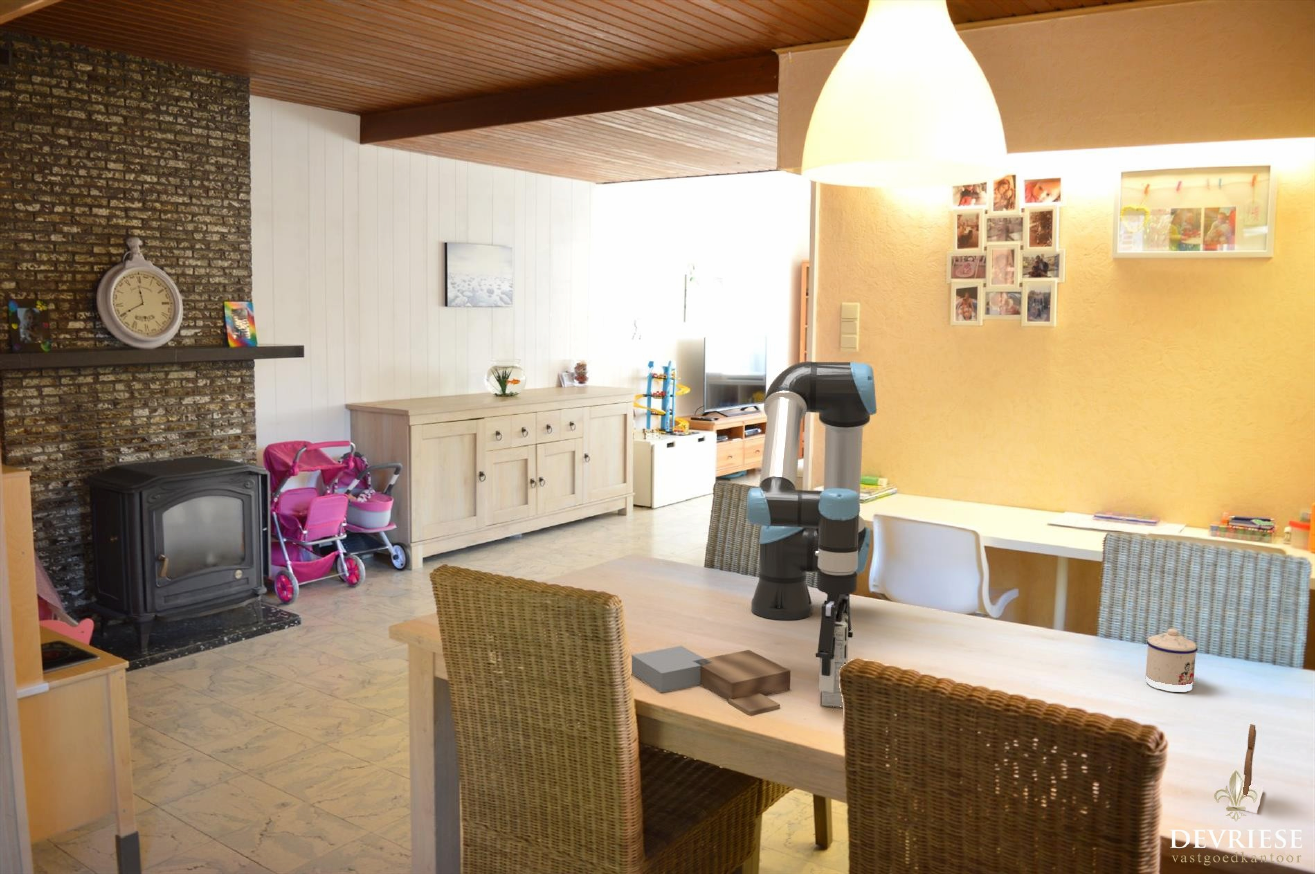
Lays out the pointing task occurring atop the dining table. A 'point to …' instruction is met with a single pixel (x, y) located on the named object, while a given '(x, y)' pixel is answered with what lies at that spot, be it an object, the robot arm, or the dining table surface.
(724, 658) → the walnut block
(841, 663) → the candy bar box
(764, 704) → the tile
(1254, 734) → the gingerbread man figurine
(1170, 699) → the dining table surface
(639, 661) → the slate grey block
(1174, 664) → the teacup with lid
